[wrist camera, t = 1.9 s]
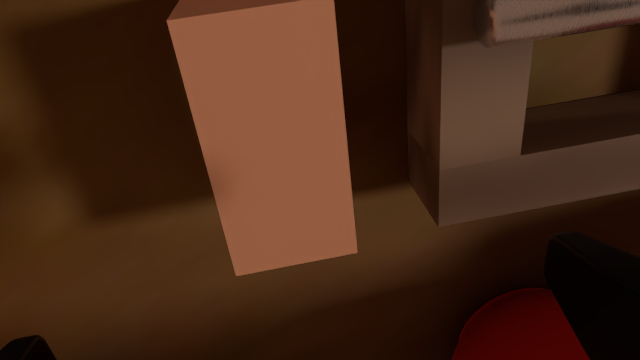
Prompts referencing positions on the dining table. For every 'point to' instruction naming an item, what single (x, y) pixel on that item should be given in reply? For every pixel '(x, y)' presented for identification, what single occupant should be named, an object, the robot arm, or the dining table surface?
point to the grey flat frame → (503, 126)
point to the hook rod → (548, 18)
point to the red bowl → (519, 330)
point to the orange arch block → (270, 125)
